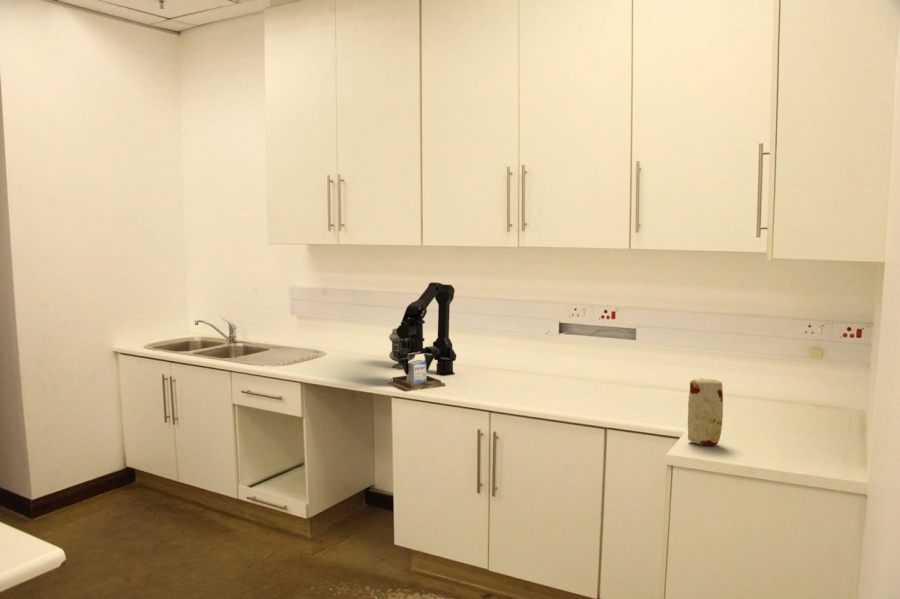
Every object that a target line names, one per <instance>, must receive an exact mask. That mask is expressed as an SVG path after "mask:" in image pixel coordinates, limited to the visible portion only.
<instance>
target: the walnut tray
mask: <svg viewBox="0 0 900 599" xmlns="http://www.w3.org/2000/svg"><path fill="white" fill-rule="evenodd" d="M426 376H427V381H426V382H422V383H414V384H411V383H408V382H407V381H406V375H402V376H393V377H392V380H391V381H388V383H389V384H388V385H390V384H391V385H390V386H392V385H393V386H392V387H395V388H397V387H398V389H399V388H400V389H399V390H401V391H404V392H412V391H411V390H413V391H419V390H418V389H420V390H426V389H433V388H439V387H446V383H445V382H442V381H441V380H440V379H439V378H436V377H432V376H430V375H428V374H426Z"/></svg>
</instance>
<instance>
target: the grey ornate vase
mask: <svg viewBox="0 0 900 599" xmlns="http://www.w3.org/2000/svg"><path fill="white" fill-rule="evenodd" d="M397 328H398V327H396V328H392V332H391V334H389V337H388V338H389V340H390V341H391V351H390V353H389V355H388V356H389V358H390V360H392V361H394V362H397V363H395V364H393V365H392V367H391V368H392V369H394V368H396V370H404V368H403V366H402V364H401V362H400V360H399V359H396V358H395V357H393V352H394V350H401V349H402V350H403V348H401V349H400V348H399V341H401V340H404V341H405V342H407V339H408V338H406V339H401V338H399V337H398V335H397ZM406 351H409V350H406ZM412 353H413V352H412ZM414 353H415V352H414ZM415 357H416V355H408V357H407V359H408V362H409V361H410V362H411V361H412V360H414V359H415Z"/></svg>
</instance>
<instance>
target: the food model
mask: <svg viewBox="0 0 900 599" xmlns="http://www.w3.org/2000/svg"><path fill="white" fill-rule="evenodd" d="M723 391H724V390H723V382H722V381H721V380H717V379H713V378H702V377H698V378H696V379H692V380H690V382H689V392H688V393H689V394H688V401H687V407H688V408H687V411H688V412H687V432H688V433H687V440H688V441H689V442H691V443H693V444H697V445H703V446H709V447H710V446H711V447H715V446H716V445H718V444H719V442H720V439H721V434H722V430H723V429H722V428H723V421H724V420H723V418H724V393H723Z"/></svg>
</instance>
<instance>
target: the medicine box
mask: <svg viewBox="0 0 900 599" xmlns="http://www.w3.org/2000/svg"><path fill="white" fill-rule="evenodd" d="M426 375H427V372H426V361H425V360H422V359H421V360H420V359H418V360H415V361H410V362H409V361H408V374H405V376H406V381H407V382H408V383H411V384H414V383H422V382H426V381H427V376H428V375H427V376H426Z"/></svg>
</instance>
